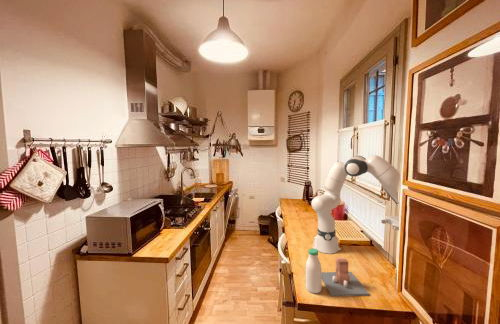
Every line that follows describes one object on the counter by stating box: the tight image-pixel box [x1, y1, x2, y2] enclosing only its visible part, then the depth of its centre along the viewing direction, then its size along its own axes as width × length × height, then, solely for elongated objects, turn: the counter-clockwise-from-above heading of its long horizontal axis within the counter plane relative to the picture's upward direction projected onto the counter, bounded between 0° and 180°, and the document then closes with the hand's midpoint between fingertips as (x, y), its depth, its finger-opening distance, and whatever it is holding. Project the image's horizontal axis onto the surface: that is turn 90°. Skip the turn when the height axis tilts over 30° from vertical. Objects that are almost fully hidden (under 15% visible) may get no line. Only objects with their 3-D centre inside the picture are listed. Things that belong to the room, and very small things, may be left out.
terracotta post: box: [335, 256, 349, 285], centre depth 108 cm, size 4×4×12 cm
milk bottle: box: [305, 248, 323, 294], centre depth 105 cm, size 8×8×20 cm
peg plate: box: [321, 271, 370, 297], centre depth 109 cm, size 18×18×4 cm
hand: (387, 224), depth 109 cm, fingers open, 8 cm apart
